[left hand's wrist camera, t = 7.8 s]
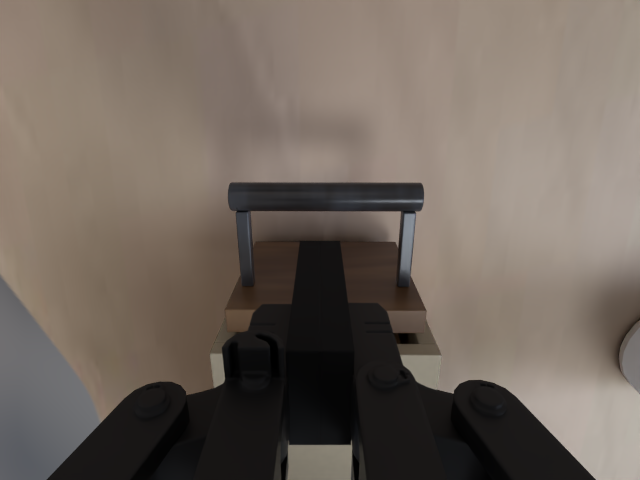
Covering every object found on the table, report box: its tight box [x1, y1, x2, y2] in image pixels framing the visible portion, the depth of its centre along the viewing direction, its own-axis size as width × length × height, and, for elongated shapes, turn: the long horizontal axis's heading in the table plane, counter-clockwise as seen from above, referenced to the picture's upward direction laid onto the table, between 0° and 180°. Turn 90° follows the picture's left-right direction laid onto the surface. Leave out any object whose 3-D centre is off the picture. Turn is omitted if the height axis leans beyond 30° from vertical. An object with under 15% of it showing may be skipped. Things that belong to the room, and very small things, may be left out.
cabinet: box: [210, 317, 442, 480], centre depth 25 cm, size 17×10×10 cm, turn 0°
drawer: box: [225, 183, 426, 344], centre depth 23 cm, size 21×9×8 cm, turn 0°
